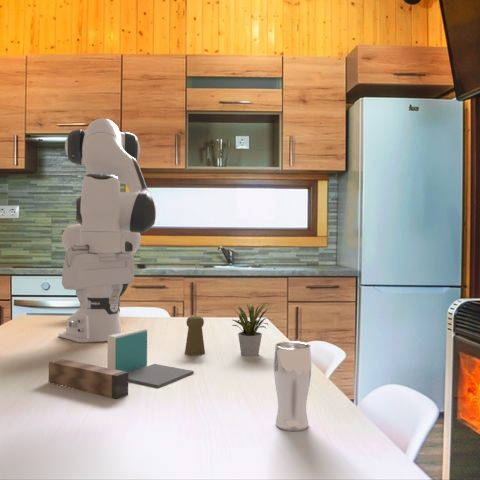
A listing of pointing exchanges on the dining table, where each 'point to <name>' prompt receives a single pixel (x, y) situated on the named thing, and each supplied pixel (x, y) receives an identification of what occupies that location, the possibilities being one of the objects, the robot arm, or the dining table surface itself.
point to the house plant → (250, 330)
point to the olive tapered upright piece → (195, 336)
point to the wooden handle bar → (89, 378)
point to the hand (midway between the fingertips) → (100, 306)
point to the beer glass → (292, 384)
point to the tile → (128, 350)
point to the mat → (157, 375)
